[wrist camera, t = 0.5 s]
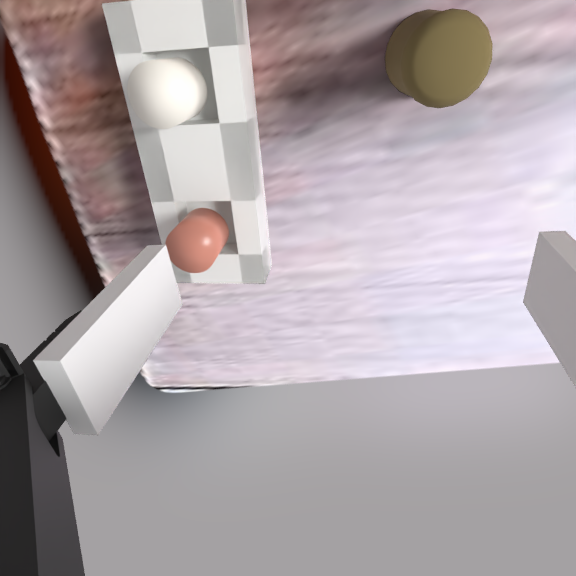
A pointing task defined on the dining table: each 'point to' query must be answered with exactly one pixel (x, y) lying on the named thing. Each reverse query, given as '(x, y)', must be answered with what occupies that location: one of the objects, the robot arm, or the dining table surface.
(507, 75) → the dining table surface
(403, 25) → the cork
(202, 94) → the white rounded piece
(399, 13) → the dining table surface
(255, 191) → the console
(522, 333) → the dining table surface
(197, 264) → the salmon rounded knob
